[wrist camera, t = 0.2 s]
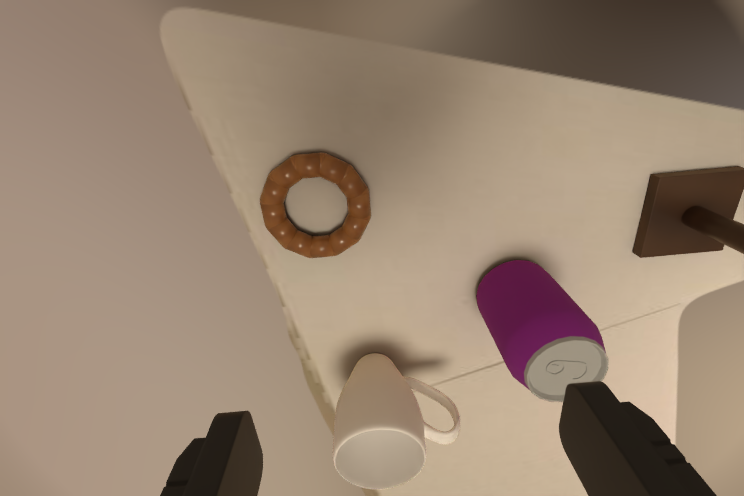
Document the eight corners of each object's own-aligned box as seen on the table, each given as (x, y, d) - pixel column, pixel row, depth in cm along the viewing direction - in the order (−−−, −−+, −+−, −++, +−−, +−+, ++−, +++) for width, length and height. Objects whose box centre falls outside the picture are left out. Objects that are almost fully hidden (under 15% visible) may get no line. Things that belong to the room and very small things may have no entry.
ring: (253, 156, 33) (247, 161, 31) (364, 146, 33) (365, 151, 31) (275, 255, 37) (271, 265, 36) (373, 246, 37) (374, 256, 36)
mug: (342, 397, 46) (337, 494, 35) (334, 341, 42) (326, 431, 32) (442, 389, 46) (468, 483, 35) (443, 332, 42) (471, 420, 32)
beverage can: (463, 312, 41) (501, 401, 30) (488, 249, 38) (541, 323, 27) (529, 324, 42) (589, 415, 31) (560, 263, 39) (638, 340, 28)
